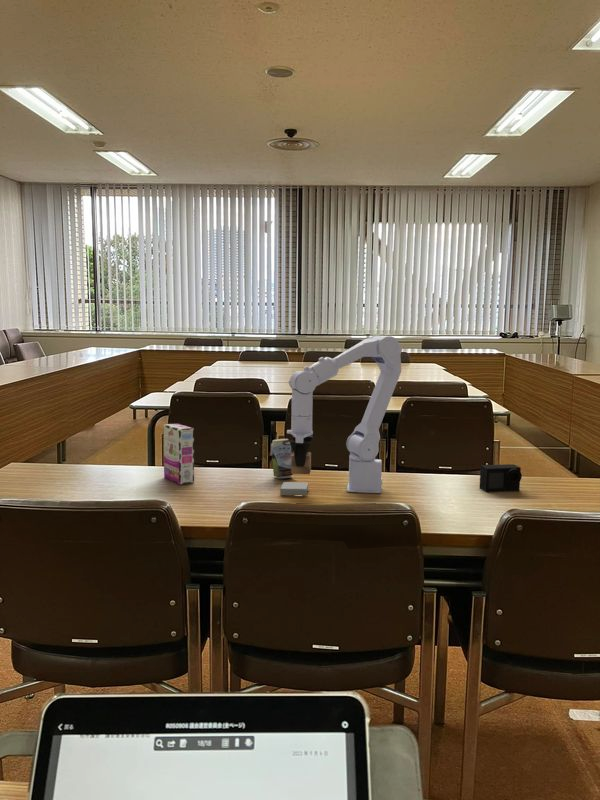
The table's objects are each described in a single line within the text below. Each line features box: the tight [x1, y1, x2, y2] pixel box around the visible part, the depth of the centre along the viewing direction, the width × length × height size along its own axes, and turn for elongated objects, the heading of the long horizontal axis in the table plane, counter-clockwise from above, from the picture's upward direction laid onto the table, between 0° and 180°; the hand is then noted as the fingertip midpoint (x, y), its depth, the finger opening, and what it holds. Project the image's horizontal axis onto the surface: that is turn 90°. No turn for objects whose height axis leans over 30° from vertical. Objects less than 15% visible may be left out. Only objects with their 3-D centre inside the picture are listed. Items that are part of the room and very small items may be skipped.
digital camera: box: [479, 463, 523, 493], centre depth 185 cm, size 10×5×7 cm, turn 100°
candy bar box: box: [163, 423, 195, 486], centre depth 191 cm, size 11×5×16 cm, turn 36°
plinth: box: [280, 481, 309, 497], centre depth 180 cm, size 7×7×2 cm
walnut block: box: [291, 451, 312, 475], centre depth 178 cm, size 5×5×5 cm
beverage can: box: [270, 438, 294, 479], centre depth 196 cm, size 6×7×12 cm
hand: (301, 463), depth 178 cm, fingers closed on walnut block, 5 cm apart
